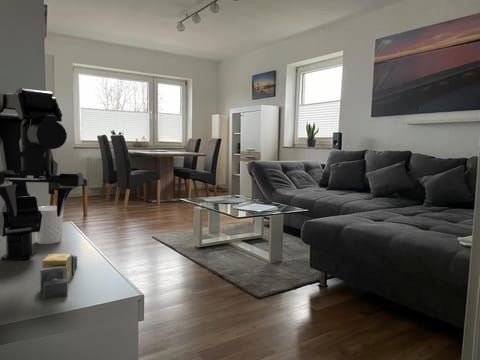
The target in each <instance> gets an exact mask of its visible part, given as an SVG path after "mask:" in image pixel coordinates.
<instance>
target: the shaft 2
mask: <svg viewBox="0 0 480 360" xmlns="http://www.w3.org/2000/svg"><path fill="white" fill-rule="evenodd" d="M77 268H78V256H77V255H75V254H71V276H74V275H75V274H76V273H75V271H76V270H77Z"/></svg>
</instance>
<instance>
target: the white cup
mask: <svg viewBox="0 0 480 360" xmlns="http://www.w3.org/2000/svg"><path fill="white" fill-rule="evenodd" d="M38 209H40V211H41V214H42V220H41V228H40V232H34V234H35V242H36V244H39V245H53V244H57V243H60V242H62V238H63V225H64V210H65V209H64V207H63V210H62V213H61V215H60V216H59V217H58V216H57V205H44V206H43V205H42V206H38Z"/></svg>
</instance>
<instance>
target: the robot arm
mask: <svg viewBox="0 0 480 360" xmlns="http://www.w3.org/2000/svg"><path fill="white" fill-rule="evenodd" d="M4 110H11V111H12V110H15V113H8V112H4ZM62 117H63V113H62V111H61V108H60V106H59V103H58V102H57V99H56V97H55V96H54V94H53V92H52V91H48V90H47V91H46V90H41V89H34V88H33V89H32V88H22V87H20V88H18V89H17V90H16V91H15V93H12V92H11V93H10V92H3V93H2V92H1V93H0V157H1V164H2V169H0V197H1V198H2V200H3V202H4V203H3V205H2V208H1V212H0V236H1V237H5V251H6V252H5V254H3V255H2V256H1V257H0V261H1V260H6V261H7V260H10V261H11V260H30V259H31V258H32V257H33V256H34V255H35V254H36V253H37V252H38V250H37V249H33V233H35V232H40V228H41V220H42V214H41V211H40V209H38V207H39V206H38V199H37V197H36V196H35V195H31V194H30V193H29V191H28V186H27V183H43V184H44V183H50V184H51V183H52V184H58V183H59V185H60V186H59V187H58V188H57V190H56V191H57V196H56V198H57V199H56V206H57V216H58V217H59V216H60V215H61V213H62V210H63V211H64V209H63V208H64V207H65V205H66V204H65V203H66V201H67V199H68V197H69V195H70V193H71V191H73V190H75V189H77V188H78V187H80V186H81V185H84V174H83V173H82V172H80V171H79V172H78V171H64V172H61V173H59V174H58V166H59V163H57V162H56V160H54V159H53V152H52V150H56V149H60V148H61V147H62V146H64V145H65V143H66V142H67V139H68V138H67V136H68V135H67V131H66V128H65V127H64V126H63V125H62V123H60V122H62V121H63V120H62ZM20 142H21V143H20Z"/></svg>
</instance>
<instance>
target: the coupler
mask: <svg viewBox="0 0 480 360" xmlns="http://www.w3.org/2000/svg"><path fill="white" fill-rule="evenodd" d="M71 255H72V253H49V254H48V255H47V256H46V257H45V258H44V259H42V269H43V268H51V267H59V266H67V284H69V282H70V280H71V278H72V275H71Z"/></svg>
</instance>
